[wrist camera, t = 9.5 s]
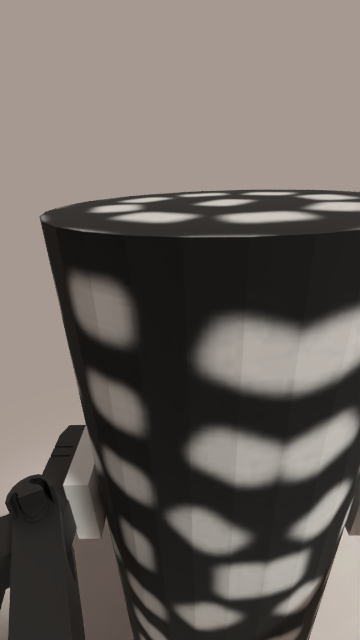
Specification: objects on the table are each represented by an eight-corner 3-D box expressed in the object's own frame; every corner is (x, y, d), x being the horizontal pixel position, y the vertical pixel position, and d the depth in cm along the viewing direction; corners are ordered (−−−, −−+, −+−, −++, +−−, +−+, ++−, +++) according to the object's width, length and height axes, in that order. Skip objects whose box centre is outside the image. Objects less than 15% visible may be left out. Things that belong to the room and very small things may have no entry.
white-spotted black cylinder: (194, 503, 21) (186, 189, 13) (321, 590, 17) (445, 190, 8) (99, 634, 16) (-36, 216, 7) (254, 823, 11) (442, 276, 2)
